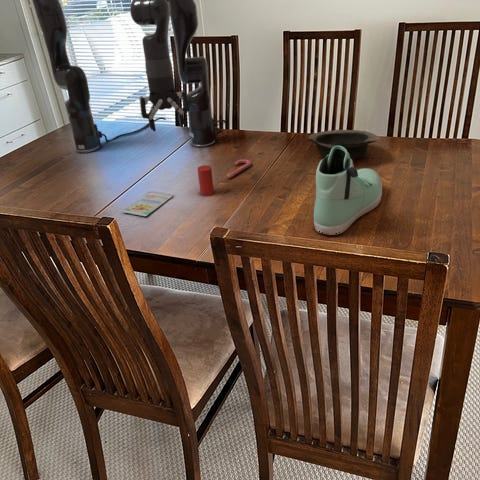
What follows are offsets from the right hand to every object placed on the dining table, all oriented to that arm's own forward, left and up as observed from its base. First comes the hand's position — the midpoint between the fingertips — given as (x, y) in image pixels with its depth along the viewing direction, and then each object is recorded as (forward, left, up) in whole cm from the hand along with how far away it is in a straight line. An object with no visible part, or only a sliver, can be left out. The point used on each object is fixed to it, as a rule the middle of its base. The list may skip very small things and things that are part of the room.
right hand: (168, 128), depth 147 cm
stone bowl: (-53, +30, -21) cm, 65 cm away
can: (-4, +10, -21) cm, 24 cm away
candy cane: (-23, +6, -21) cm, 32 cm away
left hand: (+27, -67, +14) cm, 74 cm away
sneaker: (-19, +52, -21) cm, 60 cm away
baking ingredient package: (+12, 0, -21) cm, 24 cm away
